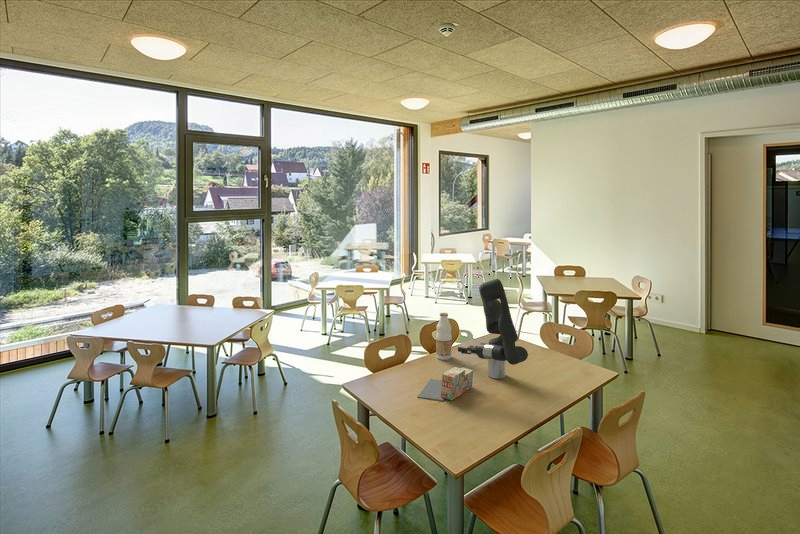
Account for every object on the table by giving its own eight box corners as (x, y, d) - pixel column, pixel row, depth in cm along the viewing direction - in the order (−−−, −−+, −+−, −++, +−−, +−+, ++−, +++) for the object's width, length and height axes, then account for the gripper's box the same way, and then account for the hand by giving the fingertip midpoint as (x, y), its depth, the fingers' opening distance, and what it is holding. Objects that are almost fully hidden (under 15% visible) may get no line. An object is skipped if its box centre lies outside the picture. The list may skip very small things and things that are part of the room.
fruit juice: (433, 358, 283) (434, 314, 279) (439, 354, 291) (439, 311, 287) (448, 361, 279) (448, 316, 275) (453, 356, 287) (453, 312, 283)
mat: (454, 382, 246) (454, 381, 245) (443, 401, 223) (443, 400, 223) (430, 379, 250) (430, 378, 250) (417, 397, 227) (417, 396, 227)
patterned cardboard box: (461, 383, 243) (463, 361, 241) (472, 387, 240) (473, 364, 238) (440, 397, 226) (442, 373, 224) (451, 401, 223) (453, 377, 221)
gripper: (498, 342, 226) (473, 339, 239) (478, 345, 217) (454, 342, 230) (498, 358, 226) (473, 354, 239) (478, 361, 217) (454, 357, 230)
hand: (464, 348), depth 234 cm, fingers open, 8 cm apart
